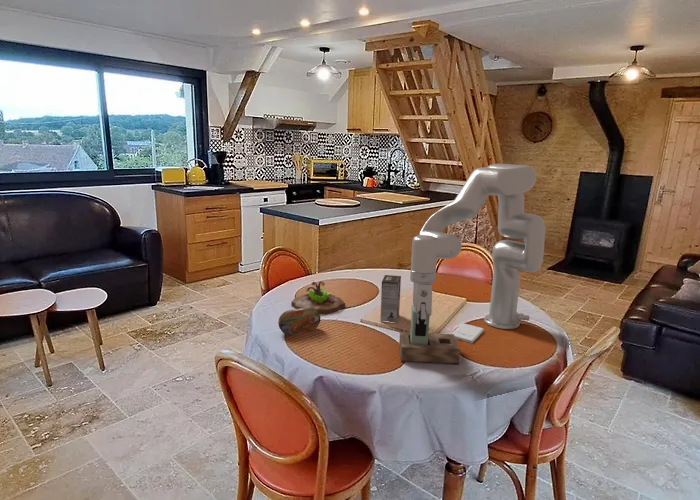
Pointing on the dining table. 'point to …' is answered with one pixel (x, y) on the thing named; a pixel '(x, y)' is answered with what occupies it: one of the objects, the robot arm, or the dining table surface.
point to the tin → (299, 321)
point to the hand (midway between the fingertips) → (419, 331)
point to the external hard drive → (467, 333)
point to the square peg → (414, 339)
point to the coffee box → (390, 298)
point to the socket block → (430, 349)
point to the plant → (319, 300)
